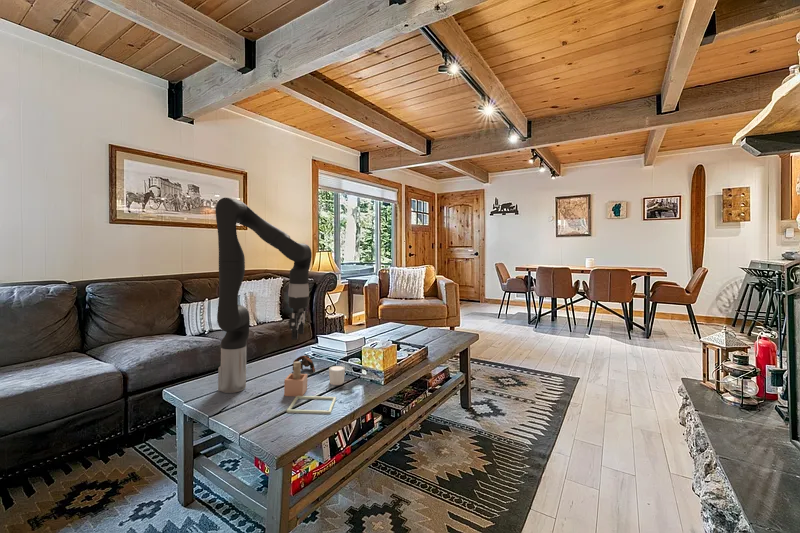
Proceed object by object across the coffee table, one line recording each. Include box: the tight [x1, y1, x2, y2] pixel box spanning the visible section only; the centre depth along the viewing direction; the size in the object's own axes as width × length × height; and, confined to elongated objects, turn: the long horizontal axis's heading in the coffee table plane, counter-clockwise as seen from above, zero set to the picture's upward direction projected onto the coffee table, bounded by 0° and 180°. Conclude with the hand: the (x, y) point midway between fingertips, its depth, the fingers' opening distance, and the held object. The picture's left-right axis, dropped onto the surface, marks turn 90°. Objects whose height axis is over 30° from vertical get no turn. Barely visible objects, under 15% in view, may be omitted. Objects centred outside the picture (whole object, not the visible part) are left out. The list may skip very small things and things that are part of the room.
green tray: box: [286, 395, 337, 415], centre depth 126 cm, size 15×12×2 cm
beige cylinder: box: [328, 365, 346, 386], centre depth 148 cm, size 7×7×7 cm
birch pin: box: [293, 361, 302, 380], centre depth 136 cm, size 3×3×12 cm
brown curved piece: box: [291, 354, 316, 373], centre depth 163 cm, size 12×10×8 cm
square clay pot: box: [283, 372, 309, 397], centre depth 137 cm, size 7×7×7 cm
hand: (297, 336), depth 135 cm, fingers open, 8 cm apart
